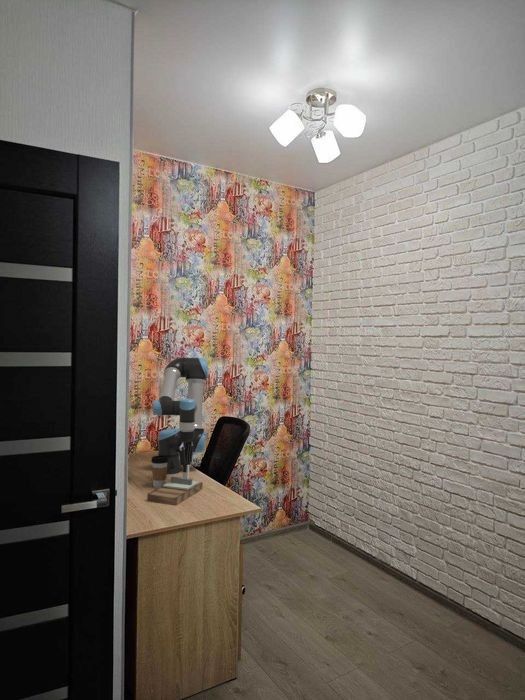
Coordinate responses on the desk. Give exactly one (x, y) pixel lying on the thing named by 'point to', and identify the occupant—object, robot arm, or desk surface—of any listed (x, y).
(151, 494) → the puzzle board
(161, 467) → the coffee cup
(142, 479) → the desk surface
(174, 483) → the lid
